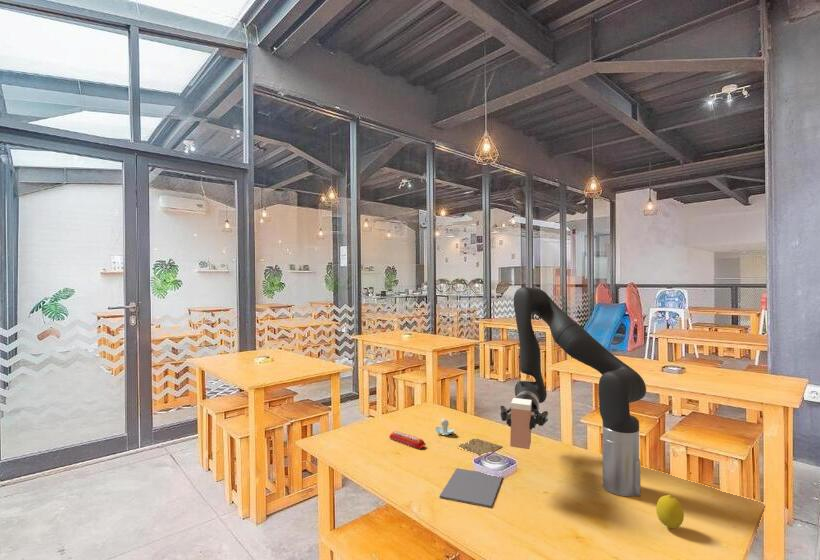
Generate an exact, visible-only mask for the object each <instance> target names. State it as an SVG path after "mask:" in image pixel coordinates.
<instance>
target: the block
mask: <svg viewBox="0 0 820 560" xmlns="http://www.w3.org/2000/svg"><path fill="white" fill-rule="evenodd" d="M510 404H511V405H510V407H511V427H510V443H509V446H510V448H511V447H512V448H516V449H524V450H530V449H531V448H530V447H531V444H532V443H531V442H532V429H529V426H530V419H531V409H532V400H528V399H519V398H516V397H513V398H512V400H511V403H510Z"/></svg>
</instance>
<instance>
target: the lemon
mask: <svg viewBox="0 0 820 560" xmlns="http://www.w3.org/2000/svg"><path fill="white" fill-rule="evenodd" d="M682 505H683V504H682V503H681V502H680V501H679V500H678V498H676V497H674V496H672V495H671V494H666V495H662V496H661V497H660V498H659V499H658V500H657V503H656V508H655V510H656V515H657V518H658V520H659V521H660V523H662V525H664V527H665V526H666V527H667V528H668V529H669V530H672V529H676V528H679V527H680V526H681V525H682V524H683V522H684V517H685V515H684V514H685V513H684V509H683V506H682Z"/></svg>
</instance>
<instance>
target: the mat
mask: <svg viewBox="0 0 820 560" xmlns="http://www.w3.org/2000/svg"><path fill="white" fill-rule="evenodd" d="M481 472H482V471H476V470H472V469H471V470H470V469H466V468H460V467H459V468H458V467H456V469H455V470H454V472H453V474H452V475H451V477H450V478H449V480H448V481H447V483H446V485H445V486H444V488H443V490H441V491H442V492H441V493H440V494H439V496H438V497H439V498H440V499H444V500H450V501H454V502H460V503H465V504H471V505H476V506H481V507H485V508H492V507H493V504H494V501H495V499H496V498H497V497H496V496H497V493H498V491H499V488H500V485H501V483H502V480H503V478H502V476H503V475H502V476H501V477H500V476H499V477H497V476H491V475H487V474H484V473H485V472H484V473H481Z"/></svg>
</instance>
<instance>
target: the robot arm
mask: <svg viewBox="0 0 820 560" xmlns="http://www.w3.org/2000/svg"><path fill="white" fill-rule="evenodd" d="M513 309H514V314H515V315H514V316H515V322H516V328H517V332H518V333H517V334H518V341H519V371H520V373H522V374H524V375H528V376H531V377H533V379H534V381H529V380H519V381H518V382H516V384H515V385H514V396H515V398H519V399H528V400H532V409H531V419H530V426H529V429H531V430H533V429H535V428H536V426H537V425H538V426H540V427H543V426H544V425H546V423H547V422H548V421H549V412H548V411H542V412H540V411H539V410H540V404H542V403H544V402H545V401H546V399H547V396H548V395H547V388H546V386H545V382H544V379H543V375H542V364H541V363H542V361H541V360H542V355H541V354H542V351H541V347H540V344H539V342H538V339H537V337H536V334H535V332H534V328H533V325H532V315H536V316H537V317H539V318H540V319H541V320H542V321H544V322H545V324H547V326H548V327H549V330H550V333H551V337H552V339H553V340H554V342H555V343H556V344H557V345H558V346H559V347H560V348H561V349H562V351H564V352H565V354H567V355H568V356H570V357H571V358H573V359H575V360H576V361H578V362H579V363H582V364H584V365H586V366H588V367H591V368H592V369H593V370H595V371H597V372H598V373H599V374H601V376H600V378H599V381H598V406H599V407H598V408H599V414H600V418H601V419H602V420H601V421H602V478H601V479H602V487H603V488H604V490H605V491H607V492H609V493H612V494H614V495H617V496H622V497H634V496H637V497H641V459H640V421H639V419H638V418H637V417H635V416H634V415H632V414H631V412H630V410H631V409H630V404H631V403H635V402H638V401H640V400H641V399H643V398H644V397H645V395H646V394H647V386H646V383H645V381H644V379H643V377H642V376H641V375H640V373H638V372H637V371H636V370H635V369H633V368H632V367H630V366H629V365H627V364H626V363H625V362H623V361H622V360H620V359H619V358H618V357H617V356H616V355H614V354H613V353H611V352H610V351H609V350H608V349H607V348H606V347H605V346H604V345H602V343H600V342H599V341H598V340H596V339H595V338H594V337H593V336H592V335H591V334H590V332H588V331H587V330H586V329H584V327H582V326H581V325H580V324H579V323H577V322H576V321H575V320H574V319H573V318H571V316H569V315H568V314H567V313H566V312H565V311H563V310H562V309H561V308H560V306H558V305H557V304H556V302H555V301H554V300H553V299H552V298H551V297H550V296H549V295H548V293H547V292H546V291H544V290H542V289H540V288H536V287H527V286H522V287H519V288H518V289H516V291H515V292H514V295H513ZM499 410H500V412H499V416H500V417H501V421H503V422H505V421H506V425H507V426H508V427H510V428H511V406H510V407H509V408H507V407H505V406H504V405H500V409H499Z"/></svg>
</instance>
